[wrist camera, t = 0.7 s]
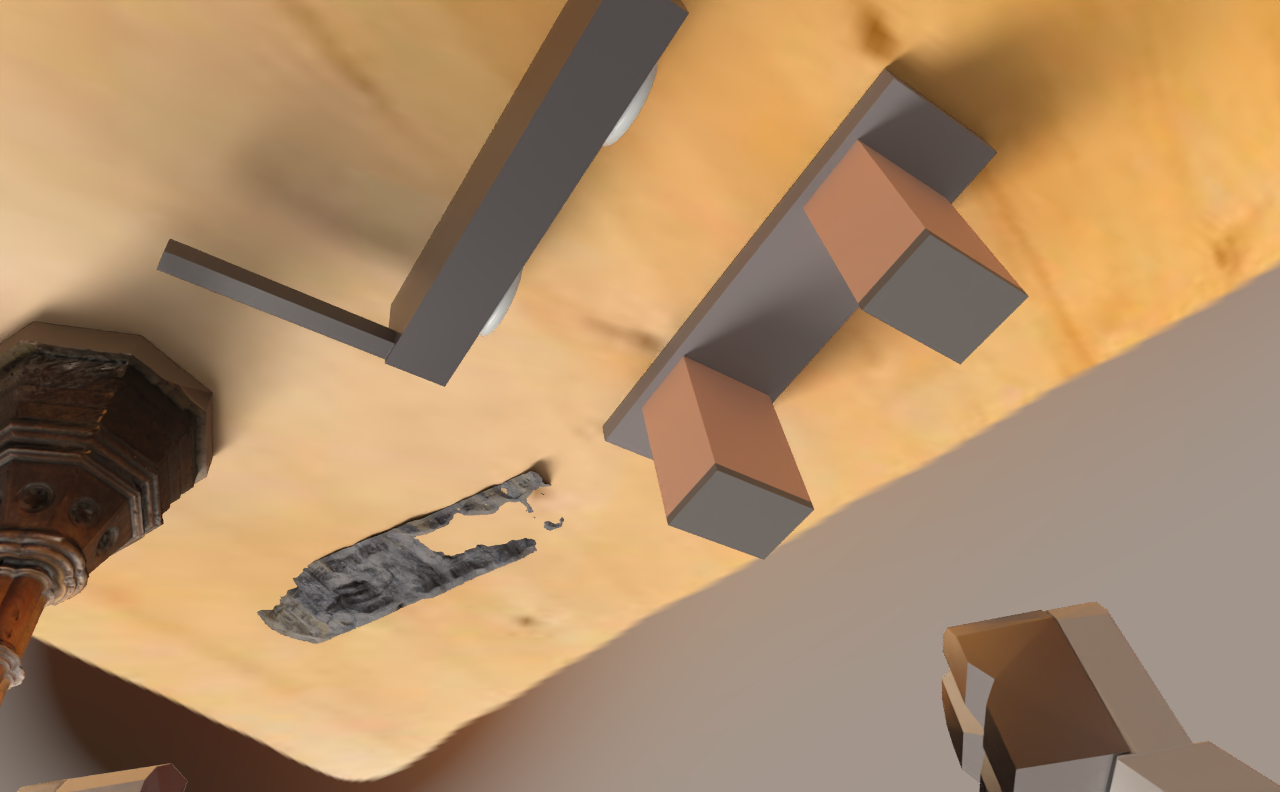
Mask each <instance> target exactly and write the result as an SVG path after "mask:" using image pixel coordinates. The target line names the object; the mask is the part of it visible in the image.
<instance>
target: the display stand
mask: <svg viewBox="0 0 1280 792" xmlns="http://www.w3.org/2000/svg"><path fill="white" fill-rule="evenodd" d="M996 153H997V152H996V151H995V150H994V149H993V148H992V147H991V146H990V145H989V144H988V143H987V142H986V141H984V140H983V139H982V138H980V137H979V136H977V135H976V134H975V133H973V132H972V131H970V130H969V129H968V128H966V127H965V126H964V125H962V124H961V123H959V122H958V121H957V120H955V119H954V118H953V117H951V116H950V115H948V114H947V113H946V112H944V111H943V110H941V109H940V108H939V107H937V106H936V105H935V104H933V103H932V102H930V101H929V100H928V99H926V98H925V97H924V96H922V95H921V94H919V93H918V92H917V91H915V90H914V89H912V88H911V87H910V86H908V85H907V84H906V83H904V82H903V81H901V80H900V79H899V78H897V77H896V76H895V75H893V74H892V73H890V72H889V71H888V70H886V69H884V70H883V71H882V73H881V74H880V75H879V77H878V78H877V79H876V80H875V82H874V83H873V84H872V85H871V87H870V88H869V89H868V91H867V92H866V93H865V94H864V96H863V97H862V98H861V99H860V101H859V102H858V103H857V104H856V106H855V107H854V108H853V110H852V111H851V112H850V113H849V115H848V116H847V117H846V118H845V120H844V121H843V122H842V124H841V125H840V126H839V127H838V129H837V130H836V131H835V132H834V134H833V135H832V136H831V138H830V139H829V140H828V141H827V143H826V144H825V145H824V146H823V148H822V149H821V150H820V151H819V153H818V154H817V155H816V157H815V158H814V159H813V160H812V162H811V163H810V164H809V165H808V167H807V168H806V169H805V171H804V172H803V173H802V174H801V176H800V177H799V178H798V179H797V181H796V182H795V183H794V184H793V186H792V187H791V188H790V190H789V191H788V192H787V193H786V195H785V196H784V197H783V198H782V200H781V201H780V202H779V204H778V205H777V206H776V207H775V209H774V210H773V211H772V212H771V214H770V215H769V216H768V218H767V219H766V220H765V221H764V223H763V224H762V225H761V226H760V228H759V229H758V230H757V231H756V233H755V234H754V235H753V237H752V238H751V239H750V240H749V242H748V243H747V244H746V245H745V247H744V248H743V249H742V251H741V252H740V253H739V254H738V256H737V257H736V258H735V259H734V261H733V262H732V263H731V265H730V266H729V267H728V268H727V270H726V271H725V272H724V273H723V275H722V276H721V277H720V278H719V280H718V281H717V282H716V284H715V285H714V286H713V287H712V289H711V290H710V291H709V292H708V294H707V295H706V296H705V298H704V299H703V300H702V301H701V303H700V304H699V305H698V306H697V308H696V309H695V310H694V311H693V313H692V314H691V315H690V317H689V318H688V319H687V320H686V322H685V323H684V324H683V325H682V327H681V328H680V329H679V331H678V332H677V333H676V334H675V336H674V337H673V338H672V339H671V341H670V342H669V343H668V345H667V346H666V347H665V348H664V350H663V351H662V352H661V353H660V355H659V356H658V357H657V358H656V360H655V361H654V362H653V364H652V365H651V366H650V367H649V369H648V370H647V371H646V372H645V374H644V375H643V376H642V378H641V379H640V380H639V381H638V383H637V384H636V385H635V386H634V388H633V389H632V390H631V392H630V393H629V394H628V395H627V397H626V398H625V399H624V400H623V402H622V403H621V404H620V405H619V407H618V408H617V409H616V411H615V412H614V413H613V414H612V416H611V417H610V418H609V419H608V421H607V422H606V423H605V425H604V426H603V432H604V438H605V441H607V442H609V443H612V444H614V445H617V446H619V447H622V448H624V449H627V450H629V451H632V452H634V453H637V454H639V455H642V456H644V457H647V458H649V459H652V460H654V464H655V469H656V473H657V478H658V482H659V487H660V491H661V495H662V500H663V504H664V509H665V513H666V518H667V522H668V525H669V526H672V527H675V528H678V529H681V530H683V531H686V532H689V533H692V534H694V535H697V536H700V537H703V538H705V539H708V540H711V541H714V542H717V543H719V544H722V545H725V546H728V547H730V548H733V549H736V550H739V551H741V552H744V553H747V554H750V555H752V556H755V557H758V558H761V559H765V558H766V557H767V556H768V555H769V554H770V553H771V552H772V551H773V550H774V549H775V548H776V547H777V546H778V545H779V544H780V543H781V542H782V541H783V540H784V539H785V538H786V537H787V536H788V535H789V534H790V533H791V532H792V531H793V530H794V529H795V528H796V527H797V526H798V525H799V524H800V523H801V522H802V521H803V520H804V519H805V518H806V517H807V516H808V515H809V514H810V513H811V512H812V511H813V510H814V508H813V505H812V503H811V500H810V498H809V495H808V493H807V490H806V487H805V485H804V482H803V480H802V477H801V475H800V472H799V470H798V467H797V465H796V462H795V460H794V457H793V454H792V452H791V449H790V447H789V444H788V442H787V439H786V437H785V434H784V432H783V429H782V427H781V424H780V422H779V419H778V416H777V414H776V411H775V409H774V406H773V404H772V403H773V402H774V401H775V400H776V399H777V397H778V396H779V395H780V394H781V393H782V392H783V391H784V390H785V389H786V387H787V386H788V385H789V384H790V383H791V382H792V381H793V380H794V378H795V377H796V376H797V375H798V374H799V373H800V372H801V371H802V370H803V368H804V367H805V366H806V365H807V364H808V363H809V362H810V361H811V360H812V358H813V357H814V356H815V355H816V354H817V353H818V352H819V351H820V350H821V348H822V347H823V346H824V345H825V344H826V343H827V342H828V341H829V339H830V338H831V337H832V336H833V335H834V334H835V333H836V332H837V331H838V329H839V328H840V327H841V326H842V325H843V324H844V323H845V322H846V321H847V319H848V318H849V317H850V316H851V315H852V314H853V313H854V312H855V311H856V309H857V308H858V307H859V306H860V308H861V309H862V310H863V311H865V312H866V313H868V314H870V315H872V316H874V317H875V318H877V319H879V320H881V321H883V322H884V323H886V324H888V325H890V326H892V327H894V328H895V329H897V330H899V331H901V332H903V333H904V334H906V335H908V336H910V337H912V338H913V339H915V340H917V341H919V342H921V343H923V344H924V345H926V346H928V347H930V348H932V349H933V350H935V351H937V352H939V353H941V354H943V355H944V356H946V357H948V358H950V359H952V360H953V361H955V362H957V363H959V364H961V363H962V362H963V361H964V360H965V359H966V358H967V357H968V356H969V355H970V354H971V353H972V352H973V351H974V350H975V349H976V348H977V347H978V346H979V345H980V344H981V343H982V342H983V341H984V340H985V339H986V338H987V337H988V336H989V335H990V334H991V333H992V332H993V331H994V330H995V329H996V328H997V327H998V326H999V325H1000V324H1001V323H1002V322H1003V321H1004V320H1005V319H1006V318H1007V317H1008V316H1009V315H1010V314H1011V313H1013V312H1014V311H1015V310H1016V309H1017V308H1018V307H1019V306H1020V305H1021V304H1022V303H1023V302H1024V301H1025V300H1026V299H1027V298H1028V297H1029V296H1028V295H1027V294H1026V293H1025V292H1024V290H1023V289H1022V288H1021V287H1020V286H1019V284H1018V283H1017V282H1016V281H1015V280H1014V278H1013V277H1012V276H1011V275H1010V274H1009V272H1008V271H1007V270H1006V269H1005V268H1004V267H1003V265H1002V264H1001V263H1000V262H999V261H998V259H997V258H996V257H995V256H994V255H993V253H992V252H991V251H990V250H989V249H988V248H987V246H986V245H985V244H984V243H983V242H982V240H981V239H980V238H979V237H978V236H977V234H976V233H975V232H974V231H973V230H972V228H971V227H970V226H969V225H968V224H967V223H966V221H965V220H964V219H963V218H962V217H961V215H960V214H959V213H958V212H957V211H956V209H955V208H954V207H953V206H952V205H951V204H952V202H953V201H954V200H955V199H956V198H957V197H958V196H959V195H960V194H961V192H962V191H963V190H964V189H965V188H966V187H967V186H968V185H969V183H970V182H971V181H972V180H973V179H974V178H975V177H976V176H977V175H978V173H979V172H980V171H981V170H982V169H983V168H984V167H985V166H986V165H987V163H988V162H989V161H990V160H991V159H992V158H993V157H994V156H995V155H996Z"/></svg>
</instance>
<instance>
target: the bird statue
mask: <svg viewBox="0 0 1280 792" xmlns="http://www.w3.org/2000/svg"><path fill="white" fill-rule="evenodd" d="M212 457H213V450H212V392H210V391H209V390H208V389H207V388H205V387H204V386H203V385H202V384H201V383H199V382H198V381H197V380H196V379H194V378H193V377H192V376H191V375H189V374H188V373H187V372H186V371H184V370H183V369H182V368H181V367H180V366H178V365H177V364H176V363H175V362H173V361H172V360H171V359H170V358H168V357H167V356H166V355H165V354H163V353H162V352H161V351H160V350H158V349H157V348H156V347H155V346H154V345H152V344H151V343H150V342H149V341H147V340H146V339H145V338H144V337H142V336H140V335H132V334H124V333H116V332H109V331H101V330H93V329H85V328H78V327H70V326H62V325H54V324H47V323H39V322H32V323H31V324H29V325H28V326H26V327H25V328H23V329H22V330H20V331H19V332H17V333H16V334H15V335H13V336H12V337H10V338H9V339H7V340H6V341H4V342H3V343H1V344H0V705H1V702H2V700H3V698H4V696H5V694H6V691H7V690H8V689H10V688H11V687H14V686H16V685H19V684H21V683H22V680H23V679H24V677H25V671H24V670H23V669H22V667H21V657H22V655H23V653H24V651H25V649H26V647H27V644H28V642H29V640H30V638H31V636H32V633H33V631H34V629H35V626H36V624H37V623H38V620H39V617H40V615H41V613H42V611H43V609H44V607H46V606H49V605H53V606H56V605H57V604H59V603H61V602H64V601H65V600H67V599H70V598H72V597H73V596H75V595H77V594H78V593H80V592H81V591H82V590H83V589H84V587H85V586H86V585H87V580H88V577H89V575H88V574H90V573H91V572H92V571H93V570H94V569H95V568H96V567H98V566H99V565H100V564H101V563H102V562H103V561H105V560H106V559H107V558H108V557H109V556H111V555H113V554H115V553H116V552H118V551H120V550H122V549H123V548H125V547H127V546H129V545H131V544H132V543H134V542H136V541H138V540H140V539H141V538H143V537H144V535H145V534H147V533H149V532H151V531H152V530H154V529H156V528H157V527H159V526H161V525H162V524H163V518H162V514H163V513H164V512H165V511H167V510H168V509H169V508H170V504H171V503H172V502H174V501H176V500H178V499H179V498H180V496H181V494H183V493H185V492H186V491H188V490H189V489H191V488H192V487H193V486H194V484H195V483H197V482H198V481H200V480H202V479H203V478H205V477H207V474H208V470H209V467H210V464H211V461H212Z"/></svg>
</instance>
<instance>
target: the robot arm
mask: <svg viewBox="0 0 1280 792" xmlns="http://www.w3.org/2000/svg"><path fill="white" fill-rule="evenodd" d="M943 653H944V656H945V658H946V660H947V663H948V665H949V668H950V670H949V672H947V673H946V675H945V676H944V677H943V678H942V701H943V708H944V713H945V718H946V725H947V728H948V731H949V734H950V737H951V741H952V744H953V747H954V750H955V752H956V755H957V758H958V760H959V763H960V765H961V768H962V770H964V771H965V772H966V773H968V774H969V775H970V776H972V777H973V778H974V779H976V780H977V781H978V782H980V789H979V792H1280V785H1278V784H1277V783H1275V782H1273V781H1272V780H1270V779H1268V778H1267V777H1265V776H1263V775H1262V774H1261V773H1259V772H1257V771H1256V770H1254V769H1252V768H1251V767H1249V766H1248V765H1246V764H1245V763H1243V762H1241V761H1240V760H1238V759H1237V758H1235V757H1233V756H1232V755H1230V754H1229V753H1227V752H1225V751H1224V750H1222V749H1221V748H1219V747H1217V746H1216V745H1214V744H1213V743H1211V742H1209V741H1207V742H1199V743H1192V741H1191V739H1190V738H1189V736H1188V735H1187V733H1186V732H1185V730H1184V729H1183V727H1182V726H1181V724H1180V722H1179V721H1178V719H1177V718H1176V716H1175V715H1174V713H1173V711H1172V710H1171V709H1170V707H1169V705H1168V704H1167V702H1166V701H1165V699H1164V698H1163V696H1162V694H1161V693H1160V691H1159V690H1158V688H1157V687H1156V685H1155V684H1154V682H1153V681H1152V679H1151V677H1150V676H1149V674H1148V673H1147V671H1146V670H1145V668H1144V666H1143V665H1142V663H1141V662H1140V660H1139V659H1138V657H1137V656H1136V654H1135V653H1134V651H1133V649H1132V648H1131V646H1130V645H1129V643H1128V642H1127V640H1126V638H1125V637H1124V635H1123V634H1122V632H1121V631H1120V629H1119V628H1118V626H1117V625H1116V623H1115V621H1114V620H1113V618H1112V617H1111V615H1110V614H1109V612H1108V610H1107V609H1105V608H1104V607H1103V606H1101V605H1100V604H1099V603H1097V602H1089V603H1084V604H1079V605H1073V606H1068V607H1063V608H1057V609H1052V610H1047V611H1042V610H1038V611H1033V612H1027V613H1022V614H1017V615H1011V616H1006V617H1001V618H996V619H990V620H985V621H980V622H974V623H969V624H963V625H959V626H953V627H948V628H947V629H946V631H945V633H944V635H943ZM186 783H187V780H186V779H185V778H184V777H183V776H182V774H181V773H180V772H179V771H178V770H177V769H176V768H175V767H174V766H173V765H172V764H165V765H158V766H152V767H145V768H139V769H132V770H126V771H119V772H112V773H106V774H99V775H93V776H86V777H80V778H71V779H65V780H59V781H53V782H48V783H41V784H35V785H30V786H23V787H21V788H20V789H19V790H18V791H17V792H184V789H185V786H186Z"/></svg>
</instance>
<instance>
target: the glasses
mask: <svg viewBox="0 0 1280 792" xmlns="http://www.w3.org/2000/svg"><path fill="white" fill-rule="evenodd" d="M688 14H689V13H688V11H687V9H686V8H685V6H684V4H683V3H682V1H681V0H568V1H567V3H566V4H565V6H564V8H563V10H562V11H561V13H560V15H559V17H558V18H557V20H556V22H555V23H554V25H553V27H552V29H551V30H550V32H549V34H548V35H547V37H546V39H545V41H544V42H543V44H542V46H541V48H540V49H539V51H538V53H537V54H536V56H535V58H534V60H533V61H532V63H531V65H530V66H529V68H528V70H527V72H526V73H525V75H524V77H523V79H522V80H521V82H520V84H519V85H518V87H517V89H516V91H515V92H514V94H513V96H512V97H511V99H510V101H509V103H508V104H507V106H506V108H505V110H504V111H503V113H502V115H501V116H500V118H499V120H498V122H497V123H496V125H495V127H494V129H493V130H492V132H491V134H490V135H489V137H488V139H487V141H486V142H485V144H484V146H483V147H482V149H481V151H480V153H479V154H478V156H477V158H476V160H475V161H474V163H473V165H472V166H471V168H470V170H469V172H468V173H467V175H466V177H465V178H464V180H463V182H462V184H461V185H460V187H459V189H458V191H457V192H456V194H455V196H454V197H453V199H452V201H451V203H450V204H449V206H448V208H447V209H446V211H445V213H444V215H443V216H442V218H441V220H440V222H439V223H438V225H437V227H436V228H435V230H434V232H433V234H432V235H431V237H430V239H429V241H428V242H427V244H426V246H425V247H424V249H423V251H422V253H421V254H420V256H419V258H418V259H417V261H416V263H415V265H414V266H413V268H412V270H411V272H410V273H409V275H408V277H407V278H406V280H405V282H404V284H403V285H402V287H401V289H400V290H399V292H398V294H397V296H396V297H395V299H394V301H393V303H392V304H391V310H390V320H389V328H387V327H385V326H382V325H380V324H377V323H375V322H372V321H370V320H368V319H365V318H363V317H360V316H358V315H355V314H353V313H350V312H348V311H346V310H343V309H341V308H338V307H336V306H333V305H331V304H329V303H326V302H324V301H321V300H319V299H316V298H314V297H311V296H309V295H307V294H304V293H302V292H299V291H297V290H294V289H292V288H289V287H287V286H285V285H282V284H280V283H277V282H275V281H272V280H270V279H268V278H265V277H263V276H260V275H258V274H255V273H253V272H250V271H248V270H246V269H243V268H241V267H238V266H236V265H233V264H231V263H228V262H226V261H224V260H221V259H219V258H216V257H214V256H211V255H209V254H207V253H204V252H202V251H199V250H197V249H194V248H192V247H189V246H187V245H185V244H182V243H180V242H177V241H175V240H172V239H170V240H169V242H168V244H167V246H166V248H165V250H164V253H163V255H162V257H161V260H160V262H159V265H158V267H157V270H159V271H162V272H164V273H167V274H170V275H172V276H175V277H177V278H180V279H182V280H185V281H187V282H190V283H192V284H195V285H198V286H200V287H203V288H205V289H208V290H210V291H213V292H215V293H218V294H220V295H223V296H226V297H228V298H231V299H233V300H236V301H238V302H241V303H243V304H246V305H248V306H251V307H253V308H256V309H259V310H261V311H264V312H266V313H269V314H271V315H274V316H276V317H279V318H281V319H284V320H287V321H289V322H292V323H294V324H297V325H299V326H302V327H304V328H307V329H309V330H312V331H315V332H317V333H320V334H322V335H325V336H327V337H330V338H332V339H335V340H337V341H340V342H343V343H345V344H348V345H350V346H353V347H355V348H358V349H360V350H363V351H365V352H368V353H370V354H373V355H376V356H378V357H381V358H383V359H385V364H388V365H391V366H393V367H396V368H398V369H401V370H403V371H406V372H408V373H411V374H414V375H416V376H419V377H421V378H424V379H426V380H429V381H432V382H434V383H437V384H439V385H442V386H444V387H445V386H446V384H447V383H448V381H449V379H450V378H451V376H452V375H453V373H454V372H455V370H456V369H457V367H458V366H459V364H460V363H461V361H462V360H463V358H464V357H465V355H466V353H467V352H468V350H469V349H470V347H471V346H472V344H473V343H474V341H475V340H476V338H477V337H478V335H481V336H487V335H489V334H490V333H491V332H493V331H494V329H495V328H496V327H497V326H498V325H499V323H500V322H501V320H502V319H503V317H504V316H505V314H506V312H507V310H508V309H509V307H510V305H511V303H512V300H513V298H514V296H515V293H516V291H517V288H518V285H519V282H520V279H521V275H522V270H523V266H524V265H525V263H526V262H527V260H528V259H529V257H530V255H531V254H532V252H533V251H534V249H535V248H536V246H537V245H538V243H539V242H540V240H541V239H542V237H543V236H544V234H545V233H546V231H547V229H548V228H549V226H550V225H551V223H552V222H553V220H554V219H555V217H556V216H557V214H558V213H559V211H560V210H561V208H562V207H563V205H564V203H565V202H566V200H567V199H568V197H569V196H570V194H571V193H572V191H573V190H574V188H575V187H576V185H577V184H578V182H579V181H580V179H581V177H582V176H583V174H584V173H585V171H586V170H587V168H588V167H589V165H590V164H591V162H592V161H593V159H594V158H595V156H596V154H597V153H598V151H599V150H600V148H601V147H602V146H609V145H611V144H613V143H614V142H616V141H617V140H618V139H619V138H620V137H621V136H622V135H623V134H624V133H625V132H626V131H627V129H628V128H629V127H630V125H631V124H632V123H633V121H634V120H635V118H636V117H637V115H638V113H639V112H640V110H641V108H642V106H643V105H644V103H645V101H646V99H647V97H648V94H649V92H650V90H651V87H652V85H653V82H654V79H655V76H656V72H657V67H658V60H659V58H660V57H661V55H662V53H663V52H664V50H665V49H666V47H667V46H668V44H669V43H670V41H671V40H672V38H673V37H674V35H675V34H676V32H677V31H678V29H679V27H680V26H681V24H682V23H683V21H684V20H685V18H686V17H687V15H688Z"/></svg>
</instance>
